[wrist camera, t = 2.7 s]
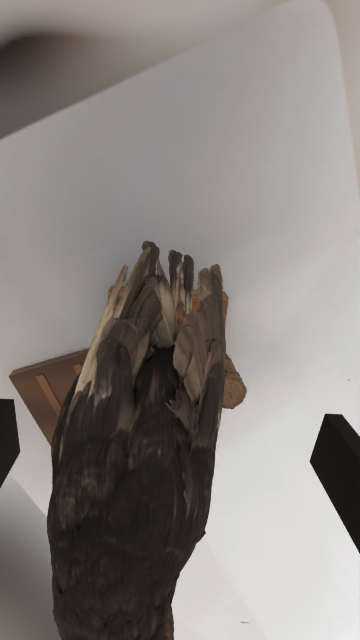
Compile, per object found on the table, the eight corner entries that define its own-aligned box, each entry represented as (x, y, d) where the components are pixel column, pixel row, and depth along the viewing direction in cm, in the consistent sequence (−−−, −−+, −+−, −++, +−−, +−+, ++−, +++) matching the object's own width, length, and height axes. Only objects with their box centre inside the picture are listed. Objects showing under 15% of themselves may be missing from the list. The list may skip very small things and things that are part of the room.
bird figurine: (233, 223, 28) (578, 381, 5) (215, 363, 33) (336, 759, 10) (110, 215, 27) (-204, 356, 4) (112, 359, 32) (-14, 778, 9)
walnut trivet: (12, 371, 32) (7, 377, 31) (103, 344, 32) (101, 349, 31) (62, 454, 37) (59, 462, 36) (142, 432, 36) (142, 439, 35)
